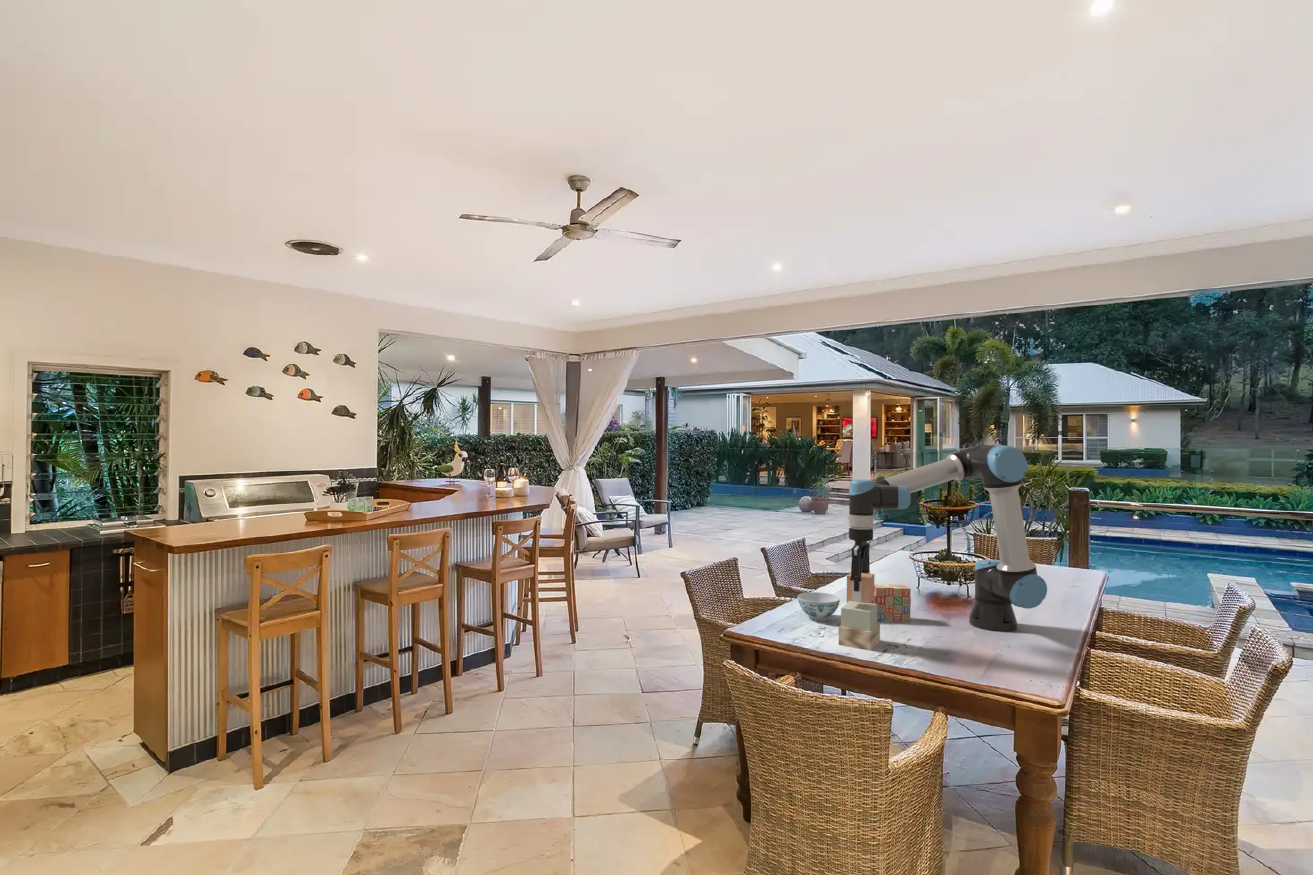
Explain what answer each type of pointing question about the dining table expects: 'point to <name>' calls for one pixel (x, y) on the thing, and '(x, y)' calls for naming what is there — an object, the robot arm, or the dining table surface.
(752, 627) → the dining table surface
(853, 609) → the tower top block
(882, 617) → the stack of blocks
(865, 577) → the terracotta block
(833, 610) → the chinaware
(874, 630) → the tower base block
